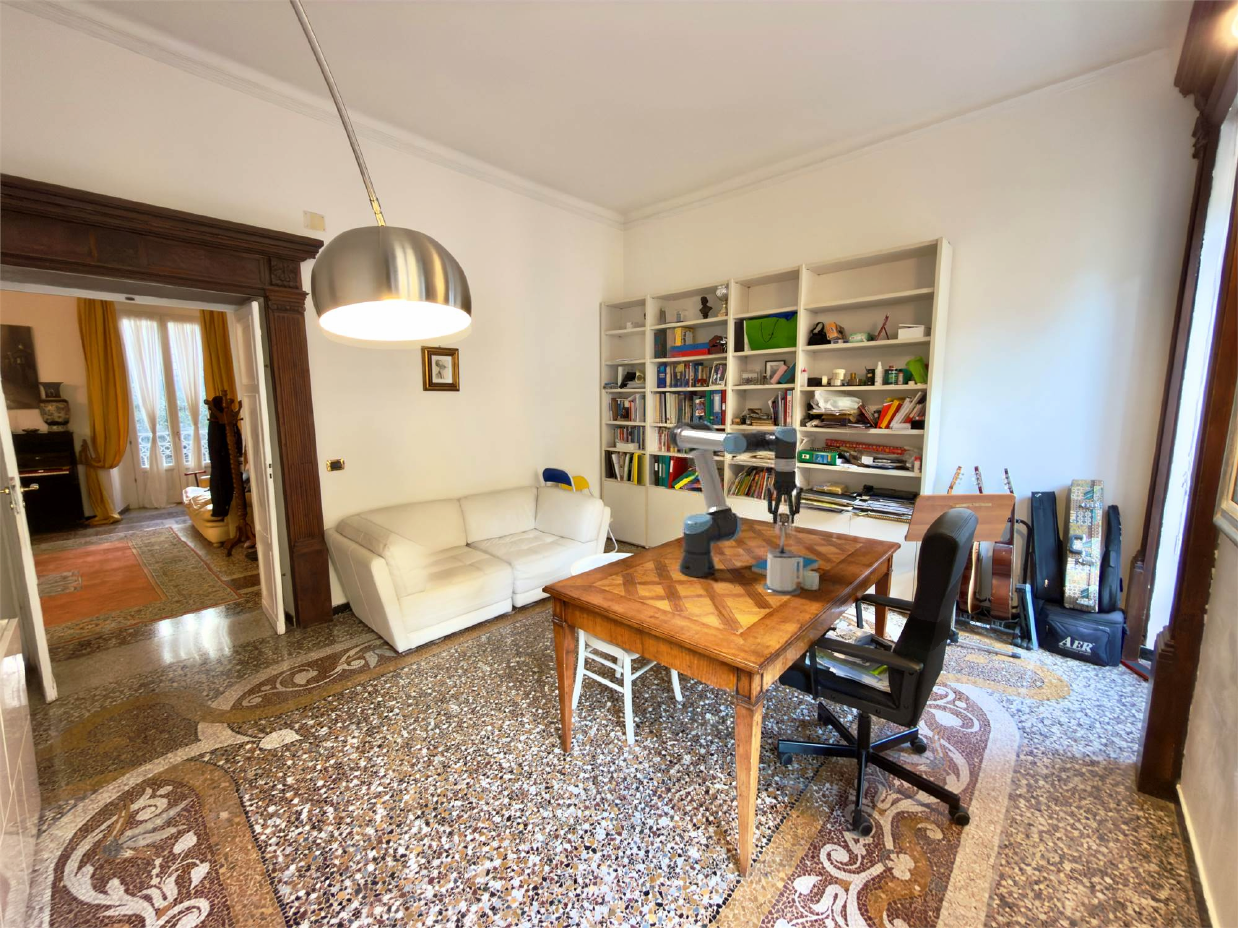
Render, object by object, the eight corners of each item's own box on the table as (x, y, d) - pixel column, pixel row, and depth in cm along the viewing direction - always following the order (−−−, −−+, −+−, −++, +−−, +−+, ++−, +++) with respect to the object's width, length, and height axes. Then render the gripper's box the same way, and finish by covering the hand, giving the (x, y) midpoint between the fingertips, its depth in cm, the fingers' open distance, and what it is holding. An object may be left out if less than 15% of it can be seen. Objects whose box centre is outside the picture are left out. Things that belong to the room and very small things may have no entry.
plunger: (775, 553, 181) (777, 512, 179) (785, 553, 181) (787, 512, 179) (778, 556, 178) (780, 515, 176) (788, 556, 178) (790, 515, 175)
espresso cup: (799, 585, 185) (799, 570, 184) (814, 585, 185) (815, 570, 184) (805, 593, 178) (806, 578, 177) (822, 593, 177) (822, 578, 177)
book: (819, 559, 203) (789, 574, 186) (818, 569, 203) (789, 585, 187) (781, 550, 215) (750, 563, 199) (781, 560, 216) (750, 573, 199)
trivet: (757, 582, 189) (757, 580, 188) (793, 582, 188) (794, 580, 188) (767, 597, 175) (767, 595, 175) (806, 597, 174) (806, 595, 174)
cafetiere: (763, 582, 187) (764, 548, 185) (796, 582, 186) (798, 547, 184) (771, 593, 176) (772, 557, 174) (806, 593, 176) (807, 556, 174)
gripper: (764, 471, 172) (762, 535, 175) (811, 471, 171) (809, 535, 174) (759, 468, 179) (757, 529, 182) (804, 468, 178) (802, 529, 182)
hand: (782, 532), depth 178 cm, fingers closed on plunger, 4 cm apart
